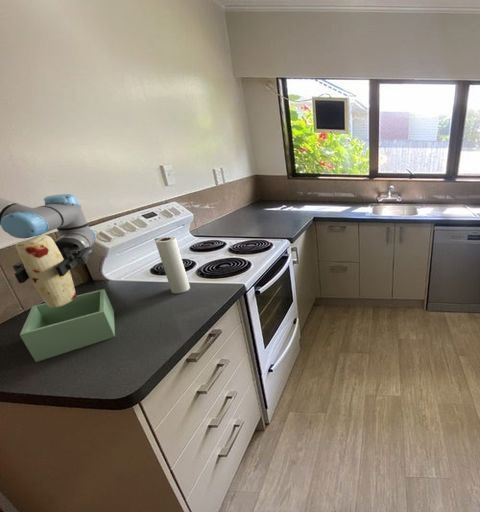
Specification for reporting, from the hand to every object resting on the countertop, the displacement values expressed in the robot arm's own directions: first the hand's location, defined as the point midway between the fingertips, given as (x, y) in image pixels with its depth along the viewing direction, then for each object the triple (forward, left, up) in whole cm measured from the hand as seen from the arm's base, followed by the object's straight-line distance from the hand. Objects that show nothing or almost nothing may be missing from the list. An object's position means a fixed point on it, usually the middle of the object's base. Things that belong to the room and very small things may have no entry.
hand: (39, 275), depth 75 cm
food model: (-5, +1, -11) cm, 12 cm away
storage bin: (-5, +1, -22) cm, 23 cm away
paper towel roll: (-17, +29, -22) cm, 40 cm away
